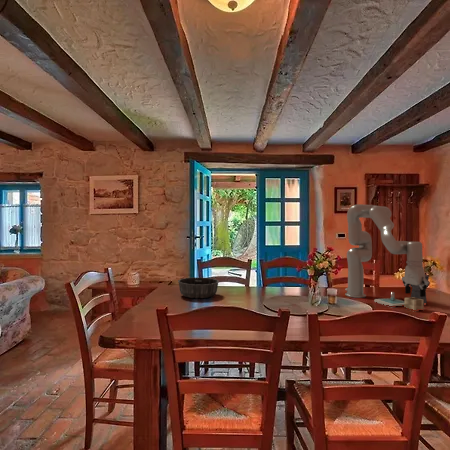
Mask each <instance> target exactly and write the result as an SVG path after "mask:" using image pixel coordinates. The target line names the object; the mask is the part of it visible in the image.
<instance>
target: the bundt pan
mask: <svg viewBox="0 0 450 450" xmlns="http://www.w3.org/2000/svg"><path fill="white" fill-rule="evenodd" d="M177 281H178V286H179V292H180V294H181V295H182V296H184V297H186V298H190V299H193V298H195V299H208V298H211V297H214V295H215V294H217V291H218V286H219V283H220V281H219V280H218V279H215V278H210V277H202V276H201V277H200V276H199V277H196V276H195V277H185V278H180V279H179V280H177Z"/></svg>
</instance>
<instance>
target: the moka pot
mask: <svg viewBox="0 0 450 450" xmlns="http://www.w3.org/2000/svg"><path fill="white" fill-rule="evenodd" d="M425 279H426V280H427V281H429V279H430V275H428V274H426V273H425ZM424 285H425V284H424ZM410 287H411V288H412V289H411V293H410V297H415V298H419V299H423V300H424V303H427V304H428V301H427V295H426V296H425V297H420V289H421V288H420V286H419V285H411V284H410ZM422 287H423V286H422ZM425 291H427V289H425Z"/></svg>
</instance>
